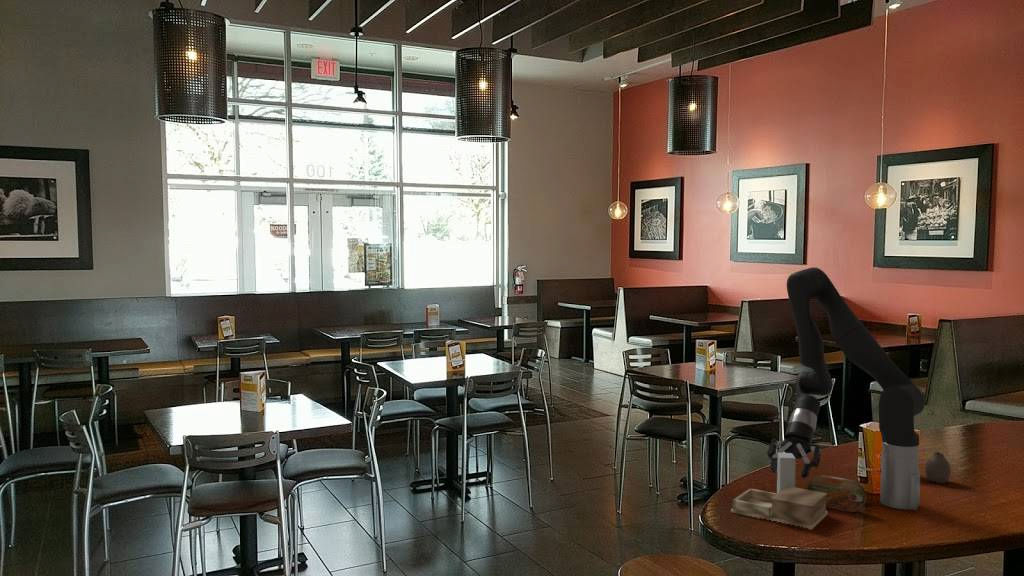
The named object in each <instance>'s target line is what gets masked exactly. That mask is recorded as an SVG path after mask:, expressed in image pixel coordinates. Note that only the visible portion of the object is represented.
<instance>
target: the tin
mask: <svg viewBox="0 0 1024 576" xmlns="http://www.w3.org/2000/svg"><path fill="white" fill-rule="evenodd" d="M807 490H812V491H817V492H823V493H827V496H826V509H832V510H837V511H843V512H845V513H846V512H847V513H854V512H855V513H856V512H859V510H861V509H862V508H863V507H864V506H865V504H866V502H867V492H866V490H865V488H864V486H863V485H861V483H859V482H858V481H856V480H853V479H848V478H842V477H835V476H830V475H824V474H822V475H817V476H814V477H812V478H811V479H810V480H809V482H808V484H807Z"/></svg>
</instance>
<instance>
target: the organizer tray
mask: <svg viewBox="0 0 1024 576" xmlns="http://www.w3.org/2000/svg"><path fill="white" fill-rule="evenodd" d="M826 496H827V493H823V492H817V491H812V490H807V489H805V488H799V487H797V486H795V487H790V486H787V487H785V488H784V489H783V490H782V491H780V492H779V493H778V494H777V492H776V493H775V492H772V491H771V492H770V491H764V490H760V489H756V488H755V489H754V488H748V489H746V490H744V491H743V492H741V494H739V495H737V496H735V498H733V499H732V508H731V509H730V513H732V514H737V515H741V516H746V517H750V516H751V517H750V518H755V517H756V519H760V518H761V520H764V519H766V521H769V520H771V521H770V522H773V521H777V522H776V523H778V522H782V523H781V524H783V523H786V524H785V525H787V524H791V525H790V526H792V525H795V526H794V527H797V526H800V527H799V528H801V527H803V528H802V529H806V528H808V529H807V530H813V529H814V528H815V527H816V526H817V525H818V524H819V523H821V521H822V520H823V519H824V518H825V517H827V515H828V511H827V507H826Z"/></svg>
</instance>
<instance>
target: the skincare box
mask: <svg viewBox="0 0 1024 576" xmlns="http://www.w3.org/2000/svg"><path fill="white" fill-rule="evenodd" d="M777 452H778V451H777ZM796 461H797V459H796V458H795V457H794V455H793V454H792V453H785V452H783V453H779V452H778V461H777V470H776V475H777V476H776V494H778V493H779V492H780V491H782V490H783V489H784V488H785V487H787V486H790V487H796V468H797V467H796Z"/></svg>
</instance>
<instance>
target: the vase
mask: <svg viewBox="0 0 1024 576" xmlns="http://www.w3.org/2000/svg"><path fill="white" fill-rule="evenodd" d="M924 472H925V476H926V477H927V479H928V480H929V482H931V481H932V482H931V483H934V482H936V483H935V484H945V482H946V483H947V482H948V481H949V480H950V478H951V474H952V468H951V464H950V462H949V460H948V459H946V457H945V456H944V454H943V452H938V451H934V452H933V454H932V455H931V456H930V457H929V458H928V459H927V461H926V462H925V466H924Z"/></svg>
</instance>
